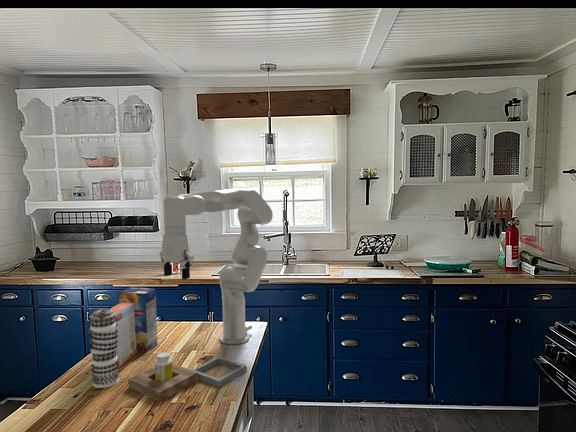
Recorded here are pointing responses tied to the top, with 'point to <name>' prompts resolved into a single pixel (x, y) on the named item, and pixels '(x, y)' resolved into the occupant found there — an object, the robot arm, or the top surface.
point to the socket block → (163, 390)
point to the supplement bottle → (163, 367)
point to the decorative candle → (104, 348)
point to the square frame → (219, 382)
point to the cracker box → (125, 331)
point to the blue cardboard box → (143, 316)
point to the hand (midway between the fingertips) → (176, 277)
